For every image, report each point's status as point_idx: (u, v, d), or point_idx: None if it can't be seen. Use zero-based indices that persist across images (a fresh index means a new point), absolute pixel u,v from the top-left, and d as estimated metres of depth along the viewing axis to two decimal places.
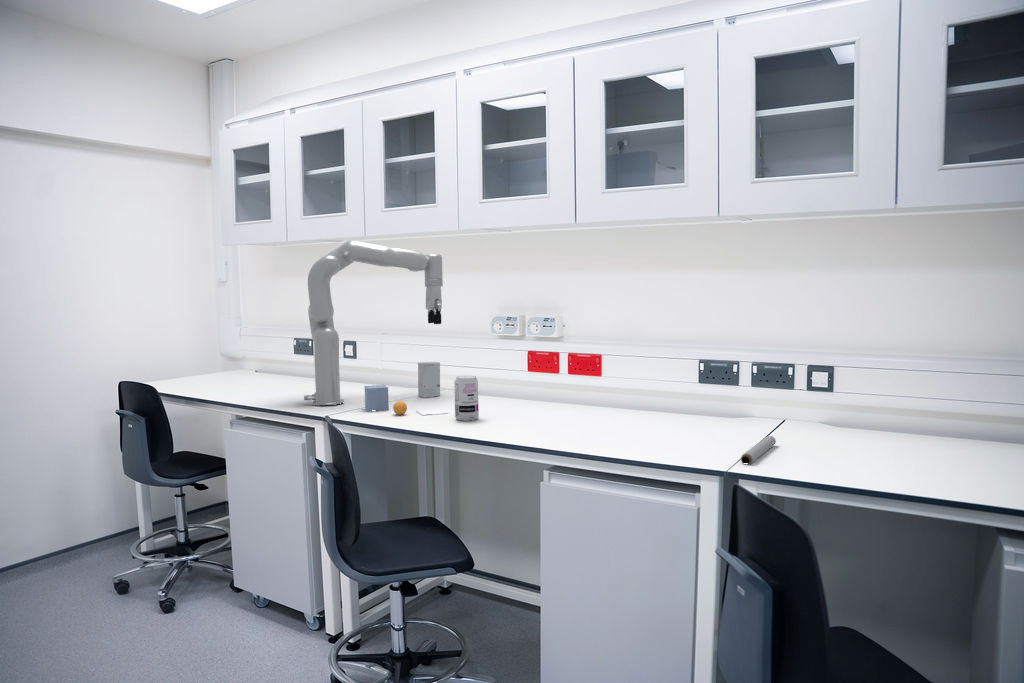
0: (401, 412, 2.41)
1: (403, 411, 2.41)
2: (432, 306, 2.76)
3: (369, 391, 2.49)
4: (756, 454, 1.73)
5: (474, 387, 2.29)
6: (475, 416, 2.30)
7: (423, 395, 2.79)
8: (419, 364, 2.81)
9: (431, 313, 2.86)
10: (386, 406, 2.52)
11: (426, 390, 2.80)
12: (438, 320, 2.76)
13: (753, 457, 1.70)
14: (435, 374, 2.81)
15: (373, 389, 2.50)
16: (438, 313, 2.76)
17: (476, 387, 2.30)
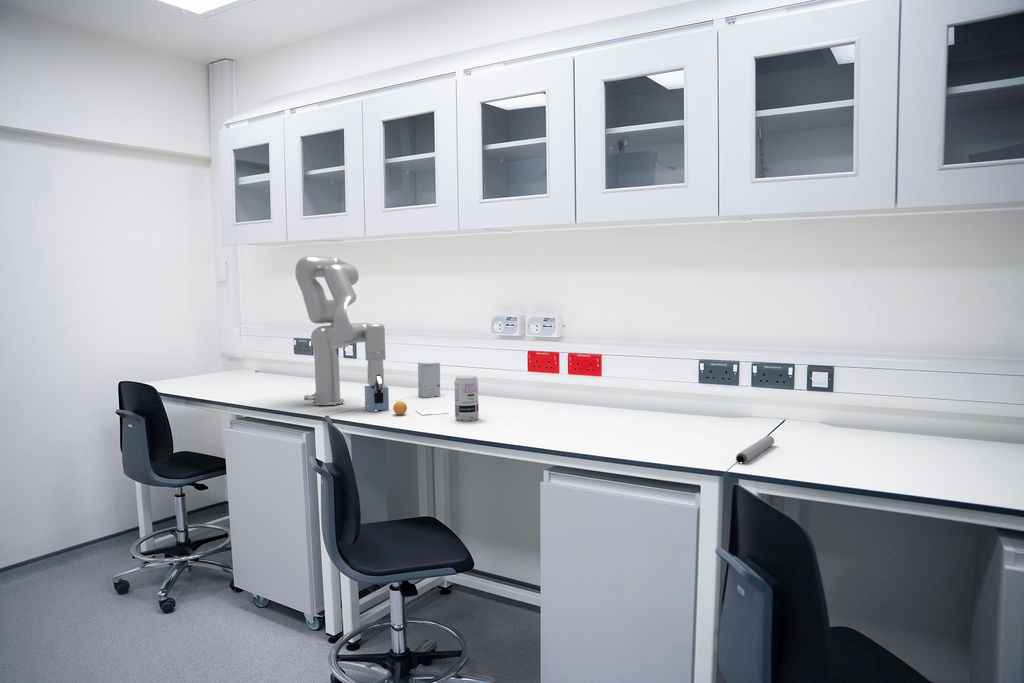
0: (401, 412, 2.41)
1: (403, 411, 2.41)
2: (373, 383, 2.48)
3: (369, 391, 2.49)
4: (752, 453, 1.73)
5: (474, 387, 2.29)
6: (475, 416, 2.30)
7: (423, 395, 2.79)
8: (419, 364, 2.81)
9: None
10: (386, 406, 2.52)
11: (426, 390, 2.80)
12: (379, 399, 2.49)
13: (748, 456, 1.71)
14: (435, 374, 2.81)
15: (373, 389, 2.49)
16: (379, 391, 2.48)
17: (476, 387, 2.30)
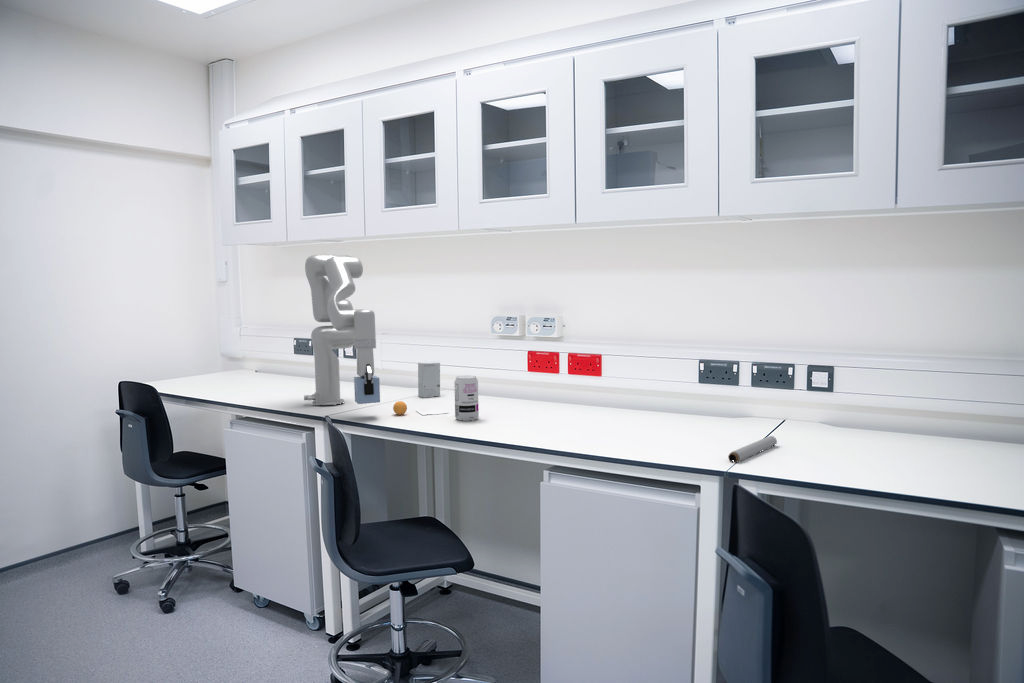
0: (401, 412, 2.41)
1: (403, 411, 2.41)
2: (362, 373, 2.31)
3: (359, 382, 2.32)
4: (746, 453, 1.74)
5: (474, 387, 2.29)
6: (475, 416, 2.30)
7: (423, 395, 2.79)
8: (419, 364, 2.81)
9: None
10: (377, 398, 2.35)
11: (426, 390, 2.80)
12: (369, 390, 2.32)
13: (741, 455, 1.72)
14: (435, 374, 2.81)
15: (363, 380, 2.33)
16: (369, 382, 2.32)
17: (476, 387, 2.30)
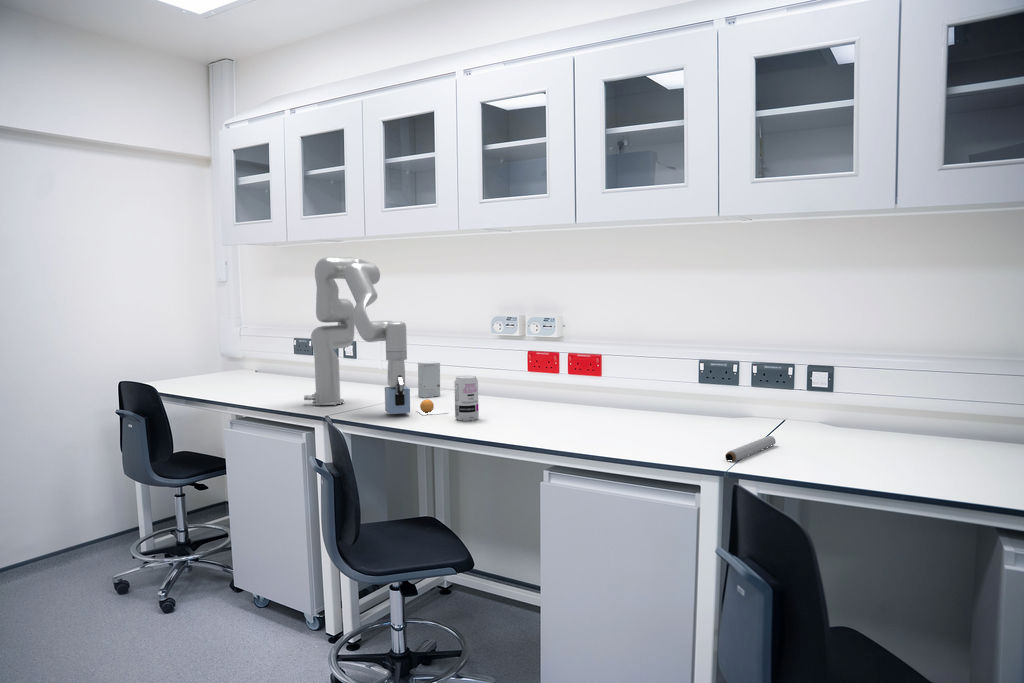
0: (430, 404, 2.44)
1: (428, 403, 2.44)
2: (394, 384, 2.36)
3: (390, 392, 2.37)
4: (743, 452, 1.75)
5: (474, 387, 2.29)
6: (475, 416, 2.30)
7: (423, 395, 2.79)
8: (419, 364, 2.81)
9: None
10: (407, 408, 2.40)
11: (426, 390, 2.80)
12: (400, 401, 2.37)
13: (738, 455, 1.72)
14: (435, 374, 2.81)
15: (394, 390, 2.37)
16: (400, 393, 2.36)
17: (476, 387, 2.30)
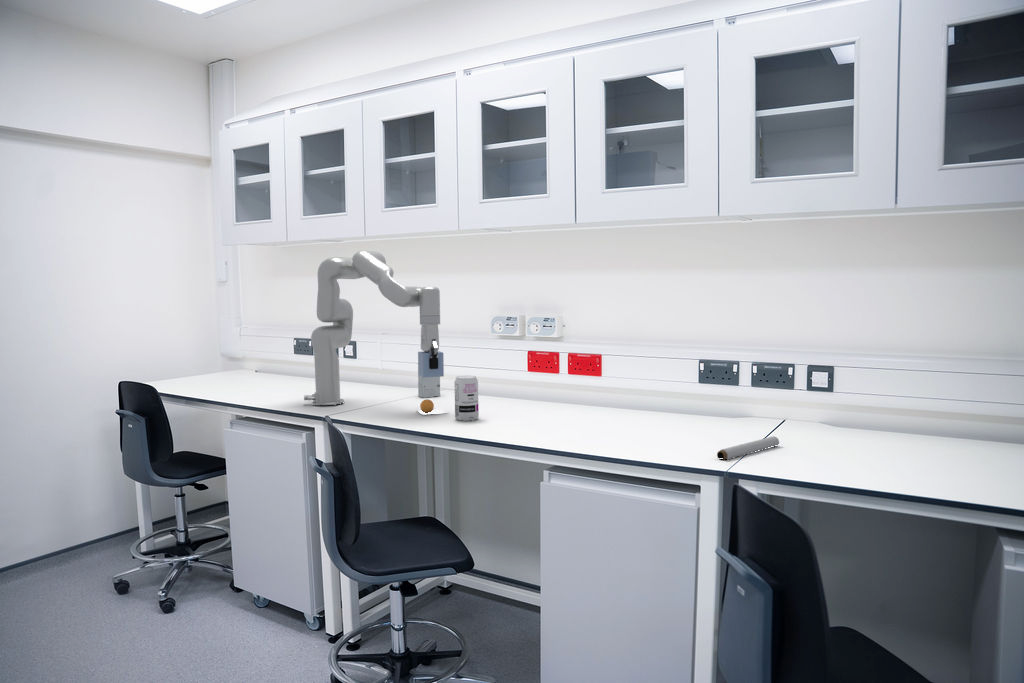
0: (430, 404, 2.44)
1: (428, 403, 2.44)
2: (428, 347, 2.40)
3: (424, 356, 2.41)
4: (736, 451, 1.76)
5: (474, 387, 2.29)
6: (475, 416, 2.30)
7: (423, 395, 2.79)
8: None
9: None
10: (441, 372, 2.43)
11: (426, 390, 2.80)
12: (434, 365, 2.41)
13: (729, 453, 1.74)
14: None
15: (428, 354, 2.41)
16: (434, 357, 2.40)
17: (476, 387, 2.30)
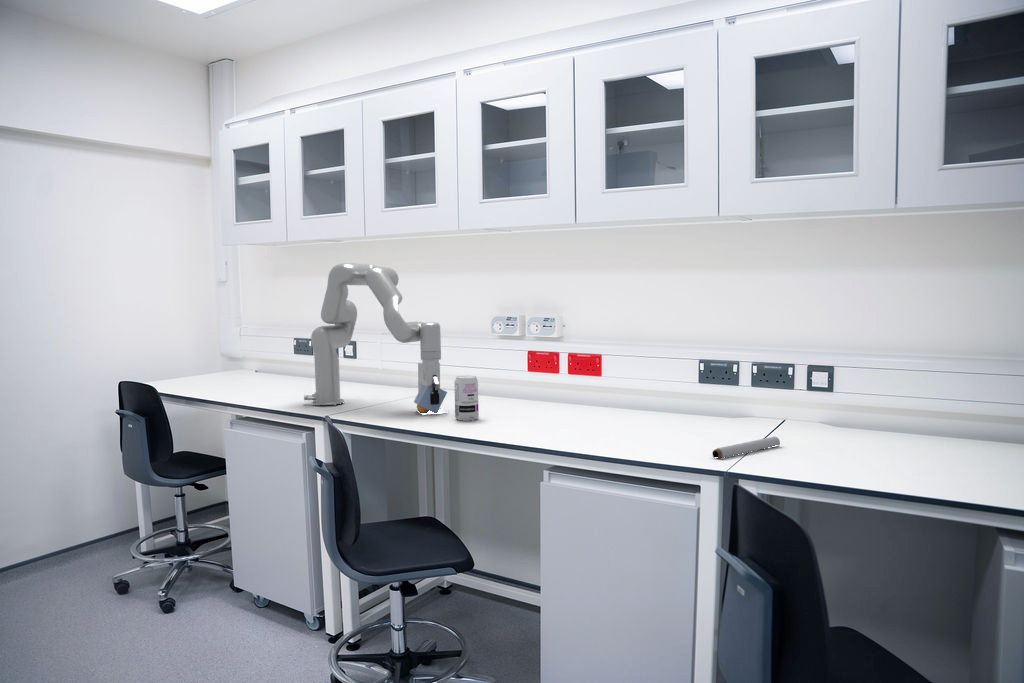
0: None
1: None
2: (429, 383, 2.40)
3: (429, 386, 2.42)
4: (732, 450, 1.77)
5: (474, 387, 2.29)
6: (475, 416, 2.30)
7: None
8: (419, 364, 2.81)
9: None
10: (436, 409, 2.43)
11: None
12: (436, 400, 2.42)
13: (725, 452, 1.75)
14: None
15: (433, 387, 2.42)
16: (435, 392, 2.41)
17: (476, 387, 2.30)
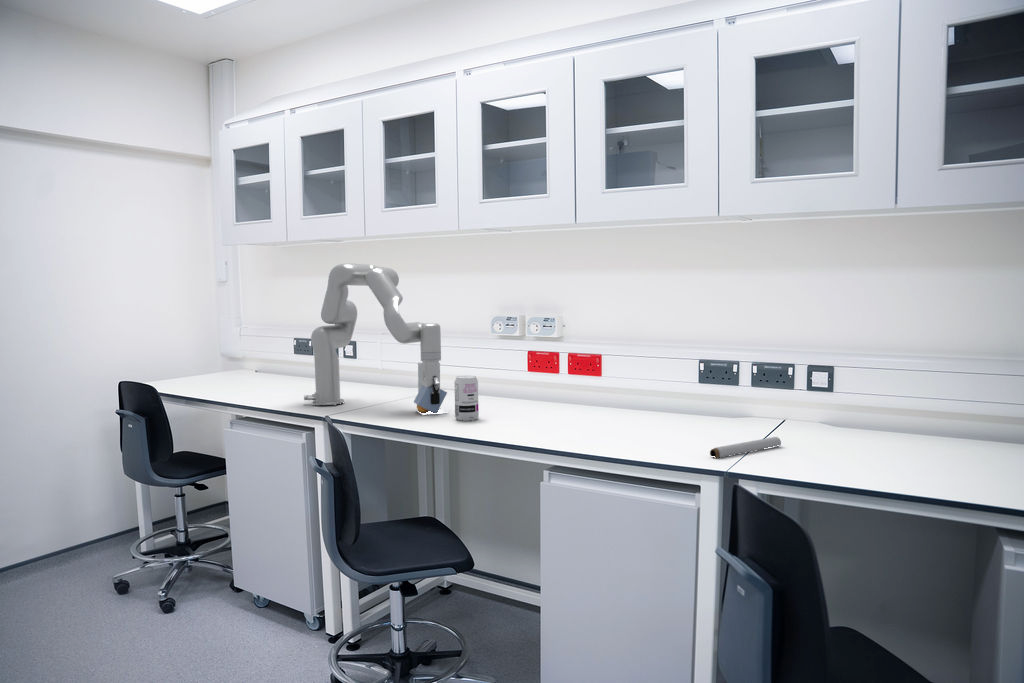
0: None
1: None
2: (429, 384, 2.41)
3: (429, 387, 2.42)
4: (730, 450, 1.77)
5: (474, 387, 2.29)
6: (475, 416, 2.30)
7: None
8: (419, 364, 2.81)
9: None
10: (436, 409, 2.43)
11: None
12: (436, 400, 2.41)
13: (722, 452, 1.76)
14: None
15: None
16: (436, 392, 2.40)
17: (476, 387, 2.30)
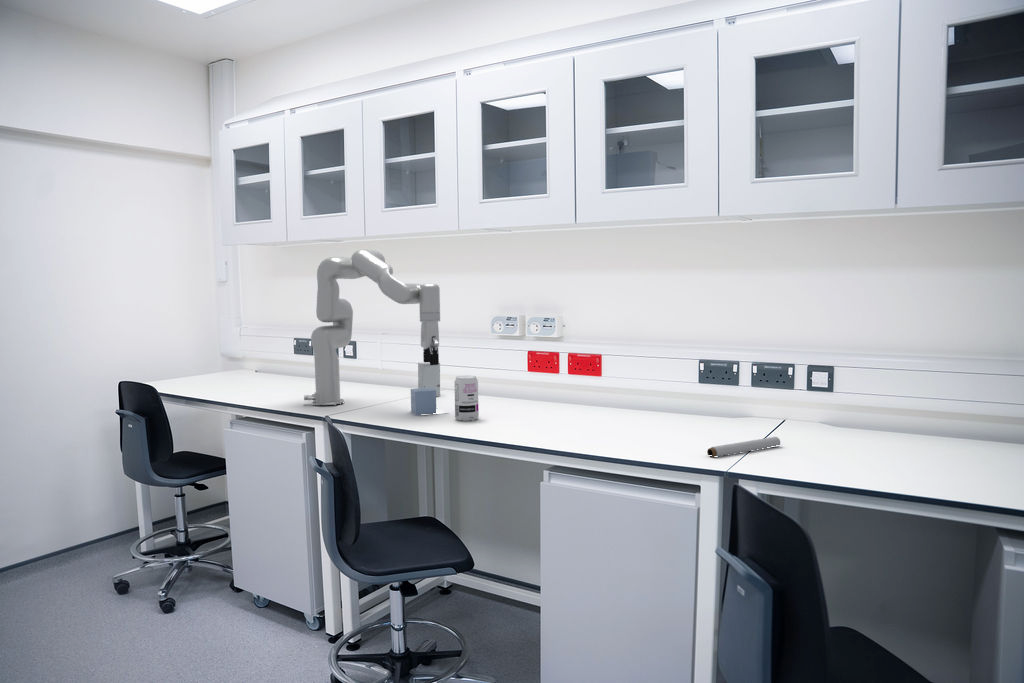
0: None
1: None
2: (428, 344, 2.40)
3: (417, 394, 2.40)
4: (727, 449, 1.78)
5: (474, 387, 2.29)
6: (475, 416, 2.30)
7: None
8: (419, 364, 2.81)
9: (427, 351, 2.49)
10: (434, 410, 2.43)
11: None
12: (435, 360, 2.40)
13: (719, 451, 1.77)
14: (435, 374, 2.81)
15: (421, 392, 2.41)
16: (435, 352, 2.39)
17: (476, 387, 2.30)
